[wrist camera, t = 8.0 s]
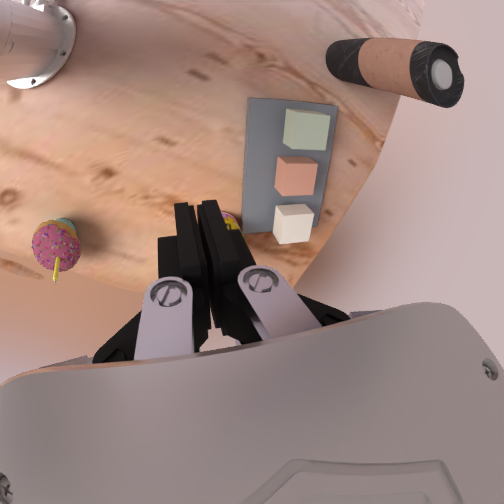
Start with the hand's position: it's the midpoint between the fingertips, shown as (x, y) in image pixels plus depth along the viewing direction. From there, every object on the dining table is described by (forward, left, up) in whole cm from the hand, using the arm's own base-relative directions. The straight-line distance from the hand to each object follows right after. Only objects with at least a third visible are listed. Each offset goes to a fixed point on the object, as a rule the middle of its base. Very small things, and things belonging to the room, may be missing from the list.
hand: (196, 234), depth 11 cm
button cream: (+15, +17, -26) cm, 35 cm away
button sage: (+1, +17, -26) cm, 31 cm away
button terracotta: (+8, +17, -27) cm, 33 cm away
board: (+8, +17, -29) cm, 35 cm away
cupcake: (+15, -20, -29) cm, 39 cm away
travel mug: (-11, +25, -29) cm, 40 cm away
